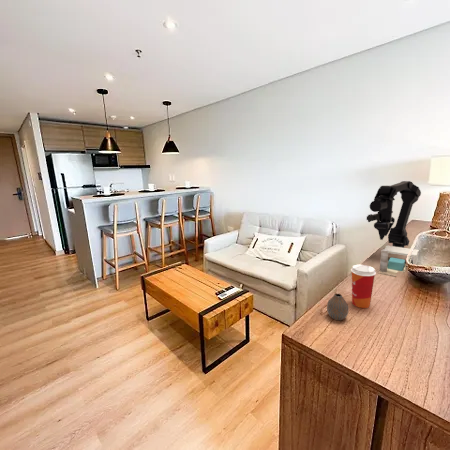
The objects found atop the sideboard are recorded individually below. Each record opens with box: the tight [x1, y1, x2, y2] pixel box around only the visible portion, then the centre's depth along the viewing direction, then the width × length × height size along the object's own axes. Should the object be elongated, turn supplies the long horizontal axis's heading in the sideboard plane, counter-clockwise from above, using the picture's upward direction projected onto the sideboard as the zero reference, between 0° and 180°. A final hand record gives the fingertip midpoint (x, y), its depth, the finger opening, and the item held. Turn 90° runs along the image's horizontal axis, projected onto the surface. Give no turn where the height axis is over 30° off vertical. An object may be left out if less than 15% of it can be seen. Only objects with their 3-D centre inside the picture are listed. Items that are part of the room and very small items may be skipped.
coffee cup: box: [350, 263, 377, 309], centre depth 92 cm, size 8×8×15 cm
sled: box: [378, 249, 408, 278], centre depth 118 cm, size 14×10×12 cm
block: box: [388, 257, 406, 272], centre depth 120 cm, size 6×6×4 cm
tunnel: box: [384, 245, 420, 265], centre depth 127 cm, size 10×14×8 cm
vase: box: [326, 292, 349, 321], centre depth 86 cm, size 7×7×9 cm
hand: (383, 237), depth 132 cm, fingers open, 9 cm apart
